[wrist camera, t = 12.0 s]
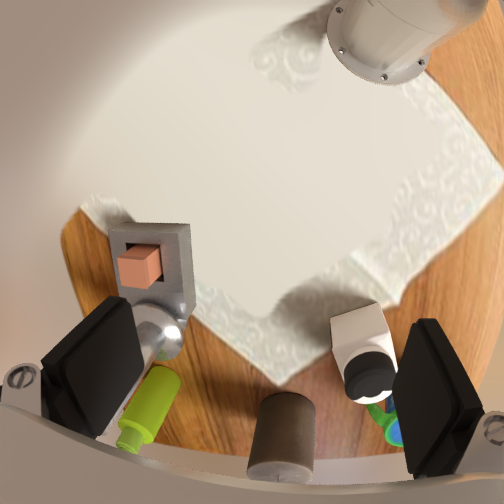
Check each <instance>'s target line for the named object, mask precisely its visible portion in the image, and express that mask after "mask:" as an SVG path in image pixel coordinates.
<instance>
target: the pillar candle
mask: <svg viewBox="0 0 504 504" xmlns="http://www.w3.org/2000/svg"><path fill="white" fill-rule="evenodd" d="M315 416H316V411H315V407H314V405H313V403H312V402H311V401H310V400H309V399H307V398H305V397H303V396H300V395H298V394H294V393H278V394H274V395H272V396H269V397H267V398H265V400H264V401H263V402H262V403H261V404H260V408H259V413H258V418H257V423H256V428H255V433H254V438H253V443H252V448H251V453H250V458H249V462H248V467H247V476H248V477H249V478H250V479H251V480H258V481H267V482H278V483H291V484H306V483H308V482H309V481H311V480H312V479H313V477H312V476H313V461H314V446H315Z"/></svg>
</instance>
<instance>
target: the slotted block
mask: <svg viewBox="0 0 504 504" xmlns="http://www.w3.org/2000/svg"><path fill="white" fill-rule="evenodd" d="M108 233H109V240H110V247H111V253H112V259H113V265H114V271H115V277H116V282H117V287H118V292H119V297H124V298H126V299H127V301H128V302H129V303H130V304H131V306H132V311H133V316H134V320H135V325H136V329H137V334H138V338H139V342H140V346H141V351H142V355H143V359H144V363H145V364H144V370H143V372H142V374H141V375H140V377H139V378H138V380H137V381H136V383H135V384H134V386H133V387H132V389H131V390H130V392H129V393H128V395H127V397H126V398H125V400H124V401H123V403H122V404H121V406H120V407H119V409H118V410H117V412H116V414H115V415H114V417H113V418H112V420H111V421H110V423H109V424H108V426H107V428H106V429H105V431H104V432H103V434H102V436H103V435H106V434H107V433H108V431H109V430H110V428H111V427H112V425H113V423H114V422H115V420H116V419H117V417H118V415H119V414H120V412H121V411H122V409H123V408H124V406H125V404H126V403H127V401H128V400H129V398H130V397H131V395H132V393H133V392H134V390H135V389H136V387H137V386H138V384H139V383H140V381H141V379H142V378H143V376H144V375H145V373H146V372H147V370H148V369H149V367H150V366H151V364H152V362H153V361H154V360H159V361H166V360H170V359H173V358H174V357H176V356H177V355H178V354H179V352H180V351H181V349H182V347H183V344H184V333H183V331H184V330H185V328H186V326H187V324H188V318H189V316H190V315H191V313H192V312H193V310H194V308H195V307H196V296H195V285H194V274H193V261H192V249H191V233H190V224H178V223H128V222H124V223H122V224H120V225H118V226H116V227H114V228H112V229H111V230H109V231H108ZM138 243H143V244H160V248H161V258H162V266H163V273H162V274H161V275H160V276H159V277H158V278H157V279H156V280H155V281H154V282H153V284H152V285H151V286H150V287H149V288H148V289H142V288H135V287H127V286H121V280H120V274H119V268H118V261H117V258H118V257H119V256H120V255H122V254H123V253H125V252H126V251H128V250H129V249H130V248H132V247H133V246H135V245H136V244H138Z"/></svg>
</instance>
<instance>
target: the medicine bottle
mask: <svg viewBox="0 0 504 504" xmlns="http://www.w3.org/2000/svg"><path fill="white" fill-rule="evenodd" d="M329 322H330V333H331V344H332V351H333V354H334V357H335V360H336V362H337V365H338V368H339V370H340V373H341V376H342V379H343V381H344V384H345V392H346V395H347V396H348V397H349V398H350V399H351V400H353V401H355V402H357V403H361V404H371V403H375V402H378V401H381V400H383V399H385V398H386V397H388V396H389V395H390V394H391V393H392V385H393V382H394V379H395V376H396V372H397V370H398V367H397V362H396V357H395V353H394V348H393V343H392V339H391V334H390V330H389V328H388V325H387V322H386V320H385V317H384V314H383V312H382V309H381V307H380V304H379V303H374V304H371V305H368V306H365V307H362V308H359V309H356V310H353V311H350V312H347V313H344V314H341V315H338V316H335V317H332V318H330V320H329Z"/></svg>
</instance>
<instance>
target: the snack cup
mask: <svg viewBox="0 0 504 504" xmlns="http://www.w3.org/2000/svg"><path fill="white" fill-rule="evenodd" d="M396 373H397V372H396ZM366 406H367V409H368V411H369V413H370V415H371V417H372V418H373V420H375V422H376V423H377V424H378V425H380V426H381V427H382V428H383V431H384V437H385V439H386V441H387V442H388V443H390V444H391V445H394V446H399V447H403V442H402V437H401V432H400V427H399V423H398V418H397V414H396V409H395V405H394V401H393V397H392V393H391V394H390V395H389V396H388V397H386V398H385V407H386V408H385V412H384V411H383V410H382V409H381V408H380V407H379V406H378V405H377V404H376V403H371V404H366Z"/></svg>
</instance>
